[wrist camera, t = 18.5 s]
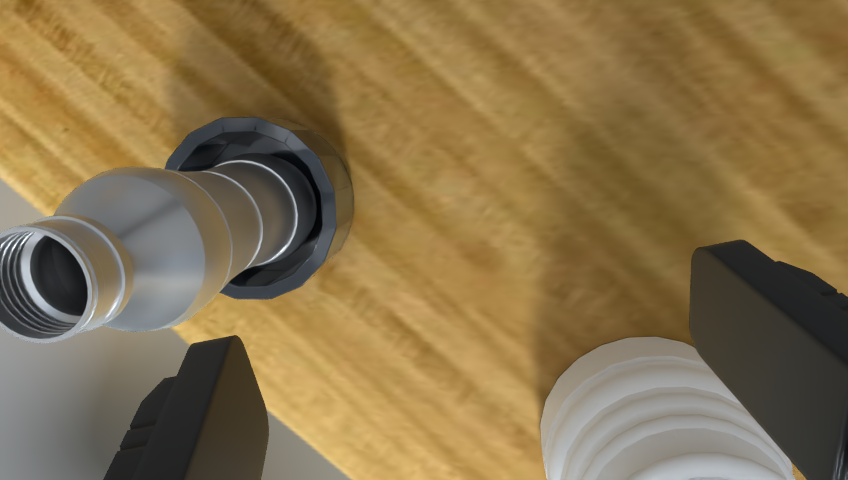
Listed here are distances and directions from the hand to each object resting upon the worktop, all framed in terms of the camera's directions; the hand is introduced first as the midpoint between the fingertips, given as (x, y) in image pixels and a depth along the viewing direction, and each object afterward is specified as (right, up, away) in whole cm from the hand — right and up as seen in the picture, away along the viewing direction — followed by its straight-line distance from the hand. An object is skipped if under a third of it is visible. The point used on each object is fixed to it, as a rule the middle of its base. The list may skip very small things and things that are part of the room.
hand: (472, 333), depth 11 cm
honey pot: (+13, -10, +27) cm, 32 cm away
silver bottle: (-10, +4, +27) cm, 29 cm away
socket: (-10, +4, +27) cm, 29 cm away
